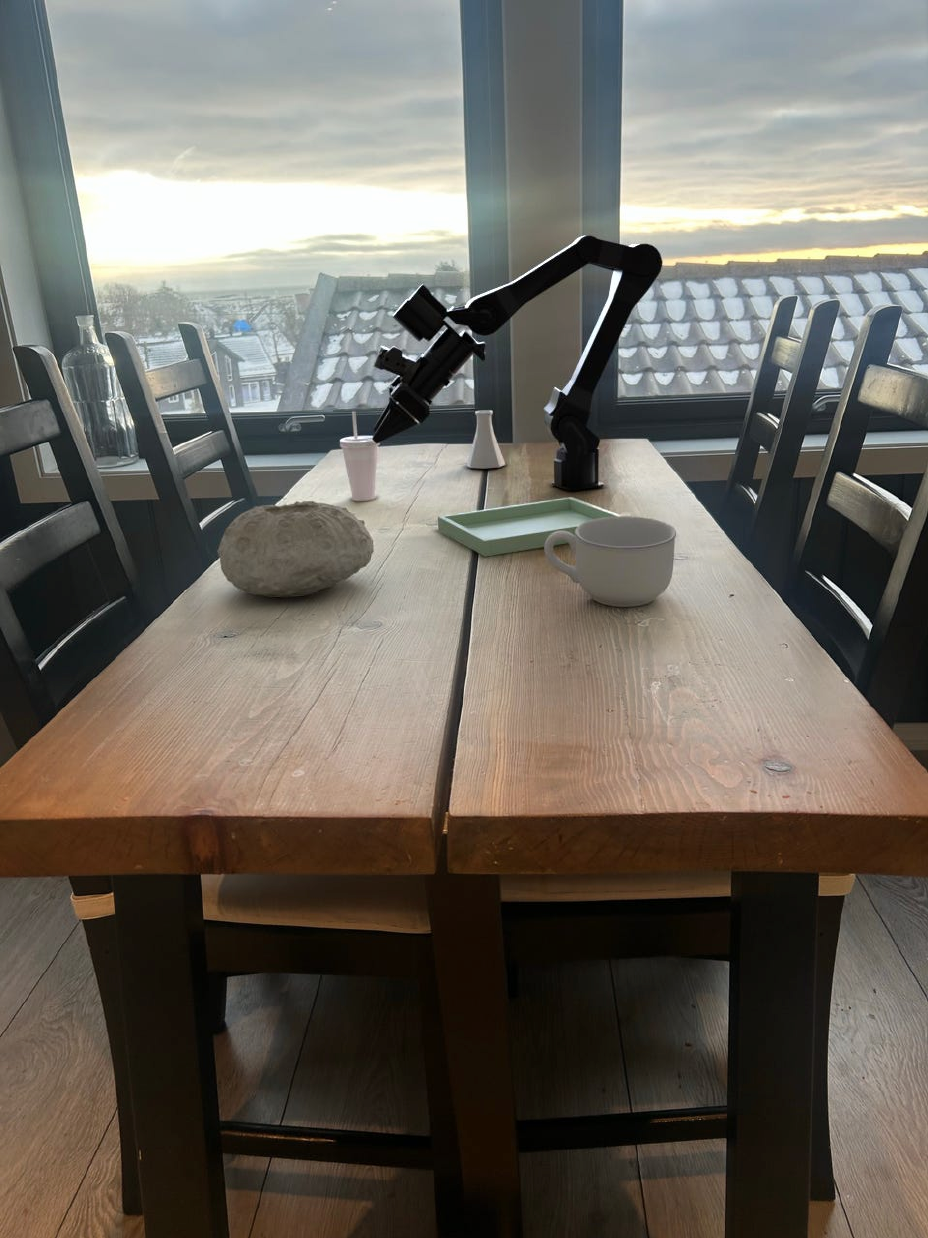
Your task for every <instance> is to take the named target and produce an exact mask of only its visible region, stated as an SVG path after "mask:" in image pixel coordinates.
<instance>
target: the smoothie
mask: <svg viewBox="0 0 928 1238" xmlns="http://www.w3.org/2000/svg"><path fill="white" fill-rule="evenodd" d="M356 413H357V412H356V411H351V417H352V428H353V429H352V431H353V436H346V437H344V438H343V437H342V438H341V439H340V440H339V447H340V448H341V450H342V455H343V459H344V464H345V468H346V469H345V470H346V473H347V478H348V479H347V480H348V484H349V488H350V492H351V493H350V494H351V498H352V501H354V502H355V501H356V502H366V501H367V502H368V501H373V500H375V499H376V495H377V494H376V493H377V492H376V491H377V471H378V456H379V455H378V452H379V451H378V448H379V445H381V442H380V443H375V442H374V441H373V440H372V438H373V436H374V435H358V425H357V414H356Z"/></svg>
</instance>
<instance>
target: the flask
mask: <svg viewBox="0 0 928 1238" xmlns="http://www.w3.org/2000/svg"><path fill="white" fill-rule="evenodd" d="M474 414H475V416H476V429H475V434H474V437H473V442H472V445H471V447H470V452H469V454H468V457H467V461H466V465H465V466H467V467H468V468H469V469H483V470H484V469H486V470H487V469H495V468H501V467H503V466H505V465H506V463H505V460H504V457H503V454H502V452H501V449H500V447H499V444H498V441H497V437H496V436H495V433H494V427H493V423H492V422H493V421H492V416H493V414H494V412H493V410H490V409H488V410H486V409H484V410H477V411H475V412H474Z"/></svg>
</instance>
